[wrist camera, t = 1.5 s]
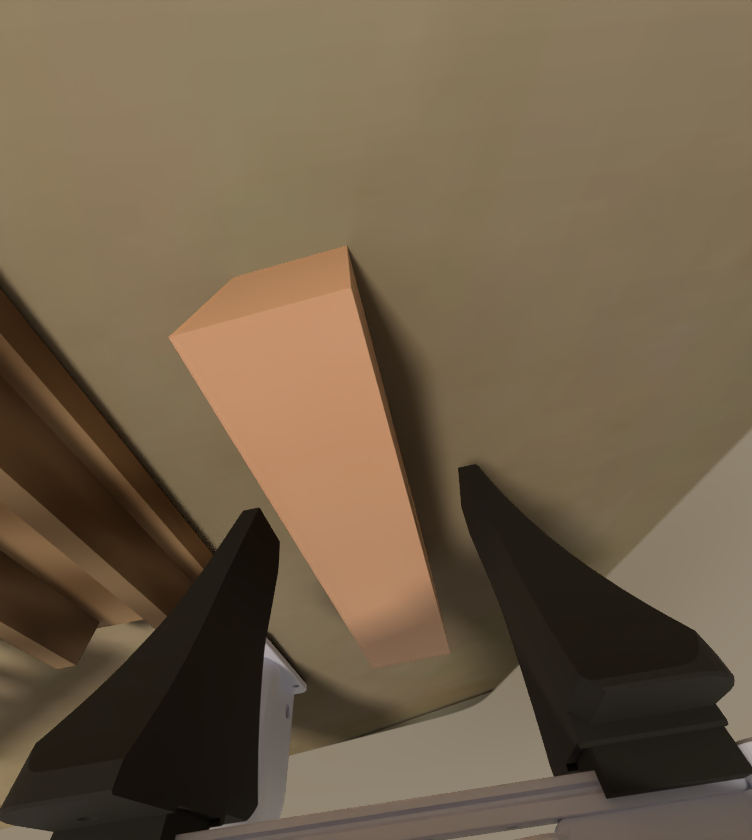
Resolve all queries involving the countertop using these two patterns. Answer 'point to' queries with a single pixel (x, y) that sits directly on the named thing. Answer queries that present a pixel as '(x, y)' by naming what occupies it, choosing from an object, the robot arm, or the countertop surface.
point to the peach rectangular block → (321, 442)
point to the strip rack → (76, 513)
